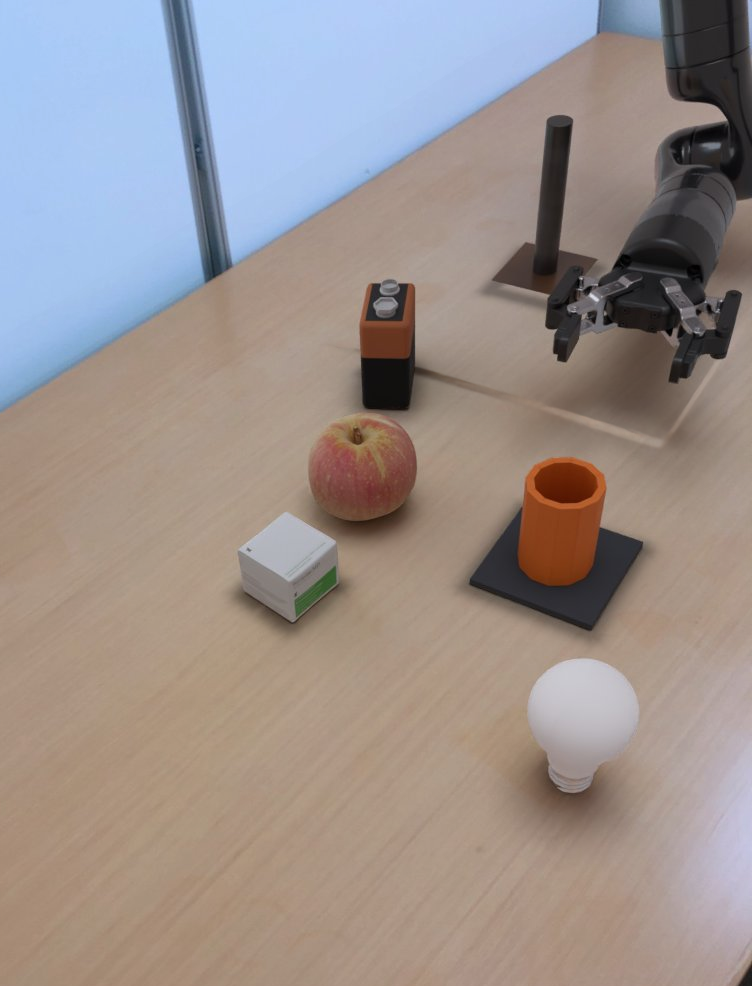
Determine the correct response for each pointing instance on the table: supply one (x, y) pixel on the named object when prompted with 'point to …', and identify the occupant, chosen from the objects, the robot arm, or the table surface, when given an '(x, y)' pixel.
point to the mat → (563, 602)
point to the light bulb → (581, 719)
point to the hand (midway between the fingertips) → (617, 362)
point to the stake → (547, 220)
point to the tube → (560, 520)
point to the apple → (362, 466)
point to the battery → (387, 344)
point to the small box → (289, 566)
